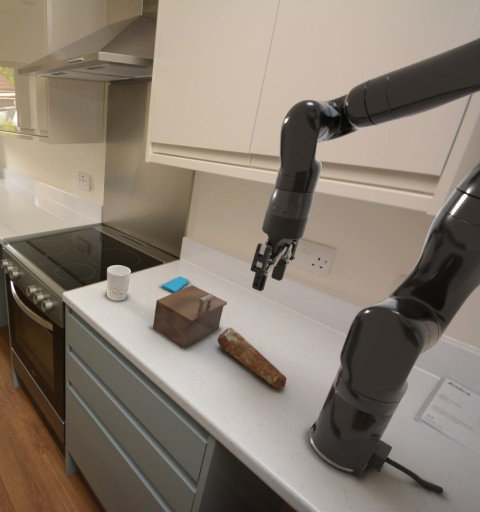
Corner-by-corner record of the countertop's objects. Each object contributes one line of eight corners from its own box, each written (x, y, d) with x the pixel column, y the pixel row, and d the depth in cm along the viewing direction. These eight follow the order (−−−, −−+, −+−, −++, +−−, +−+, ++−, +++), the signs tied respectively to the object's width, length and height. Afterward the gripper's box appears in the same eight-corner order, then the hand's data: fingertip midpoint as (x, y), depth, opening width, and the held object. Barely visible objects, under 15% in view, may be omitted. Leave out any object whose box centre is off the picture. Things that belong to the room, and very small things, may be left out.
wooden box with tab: (226, 304, 99) (229, 291, 97) (191, 323, 89) (194, 308, 87) (191, 287, 107) (193, 274, 106) (156, 302, 98) (158, 289, 96)
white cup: (113, 288, 122) (115, 263, 119) (132, 295, 118) (135, 269, 114) (101, 296, 117) (102, 270, 113) (120, 304, 112) (122, 277, 108)
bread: (230, 341, 97) (234, 325, 95) (289, 388, 81) (295, 370, 79) (213, 346, 95) (217, 329, 92) (270, 395, 79) (276, 377, 76)
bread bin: (218, 328, 103) (224, 303, 99) (184, 349, 93) (189, 322, 89) (187, 311, 111) (191, 287, 107) (152, 328, 101) (156, 302, 98)
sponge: (193, 282, 128) (180, 274, 132) (174, 291, 121) (161, 283, 124) (192, 285, 129) (180, 278, 132) (173, 295, 121) (160, 287, 125)
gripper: (291, 222, 60) (268, 301, 67) (322, 211, 69) (299, 282, 75) (251, 211, 65) (233, 286, 72) (284, 202, 74) (266, 270, 80)
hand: (267, 284), depth 73 cm, fingers open, 8 cm apart
